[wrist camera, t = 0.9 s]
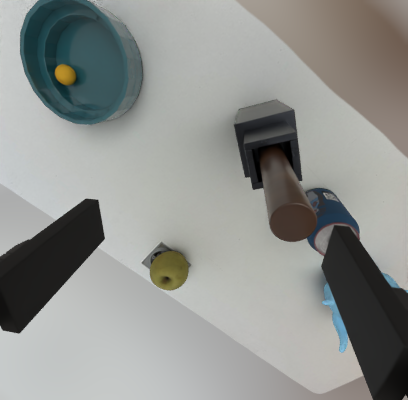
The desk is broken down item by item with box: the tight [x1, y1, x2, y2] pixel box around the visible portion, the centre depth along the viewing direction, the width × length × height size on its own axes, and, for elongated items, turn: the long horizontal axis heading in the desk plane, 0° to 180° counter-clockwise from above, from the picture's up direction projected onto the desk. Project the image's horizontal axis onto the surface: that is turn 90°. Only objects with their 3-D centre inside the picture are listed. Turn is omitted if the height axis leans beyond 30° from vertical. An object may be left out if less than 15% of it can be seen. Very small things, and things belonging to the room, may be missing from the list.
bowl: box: [20, 0, 142, 125], centre depth 38 cm, size 16×16×6 cm
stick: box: [257, 143, 317, 242], centre depth 19 cm, size 2×2×16 cm
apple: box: [150, 251, 188, 290], centre depth 52 cm, size 8×8×7 cm
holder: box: [234, 99, 302, 190], centre depth 31 cm, size 6×6×22 cm
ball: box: [55, 64, 76, 85], centre depth 40 cm, size 3×3×3 cm
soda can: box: [305, 188, 360, 256], centre depth 39 cm, size 7×7×12 cm
